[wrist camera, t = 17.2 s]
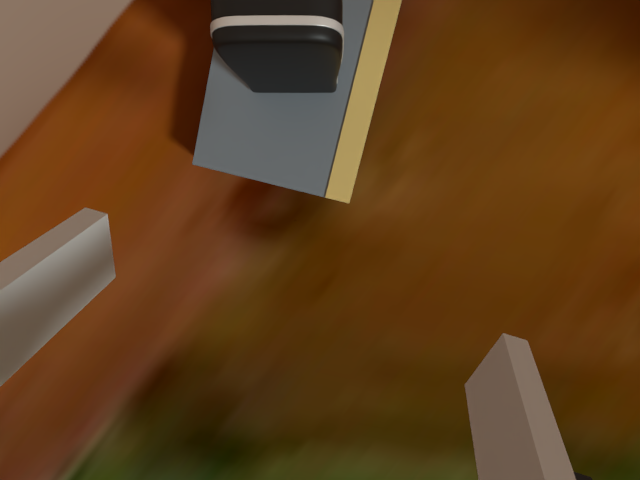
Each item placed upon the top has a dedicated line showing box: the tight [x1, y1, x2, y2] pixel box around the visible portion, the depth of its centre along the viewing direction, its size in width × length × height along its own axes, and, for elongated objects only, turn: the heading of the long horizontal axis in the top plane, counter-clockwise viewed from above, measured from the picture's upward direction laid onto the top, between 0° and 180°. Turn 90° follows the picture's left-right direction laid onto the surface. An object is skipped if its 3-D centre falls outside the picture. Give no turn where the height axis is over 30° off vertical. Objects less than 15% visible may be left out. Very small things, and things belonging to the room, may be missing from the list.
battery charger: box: [210, 0, 344, 93], centre depth 23 cm, size 7×4×11 cm, turn 90°
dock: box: [192, 0, 402, 203], centre depth 31 cm, size 13×18×4 cm
